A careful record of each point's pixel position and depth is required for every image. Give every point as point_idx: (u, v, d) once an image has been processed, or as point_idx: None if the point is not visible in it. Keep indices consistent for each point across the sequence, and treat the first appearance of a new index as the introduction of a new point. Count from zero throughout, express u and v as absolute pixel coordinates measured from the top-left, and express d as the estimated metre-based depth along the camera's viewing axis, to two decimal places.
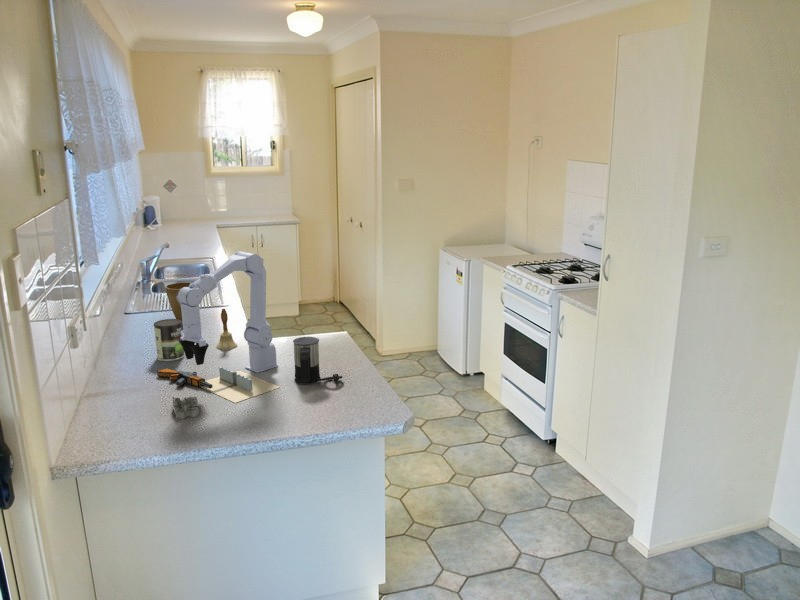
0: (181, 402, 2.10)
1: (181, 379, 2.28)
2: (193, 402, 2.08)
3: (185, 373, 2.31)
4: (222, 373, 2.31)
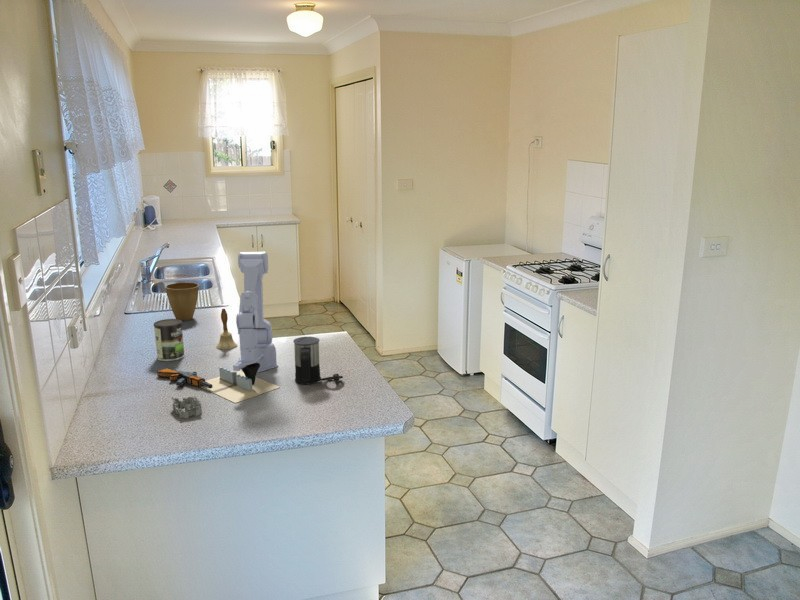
0: (180, 402, 2.09)
1: (181, 379, 2.28)
2: (194, 401, 2.08)
3: (185, 373, 2.31)
4: (222, 373, 2.31)
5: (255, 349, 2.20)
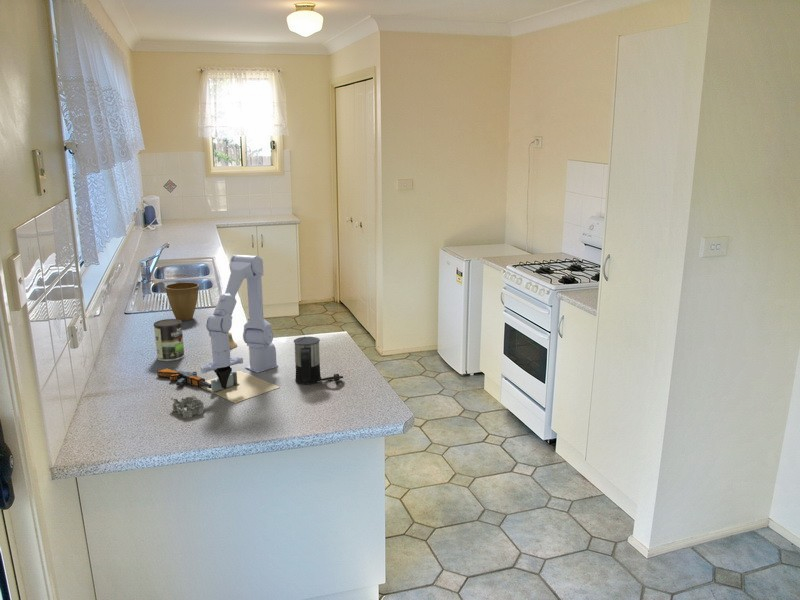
0: (180, 403, 2.09)
1: (181, 379, 2.28)
2: (194, 401, 2.09)
3: (185, 373, 2.31)
4: None
5: (225, 353, 2.16)
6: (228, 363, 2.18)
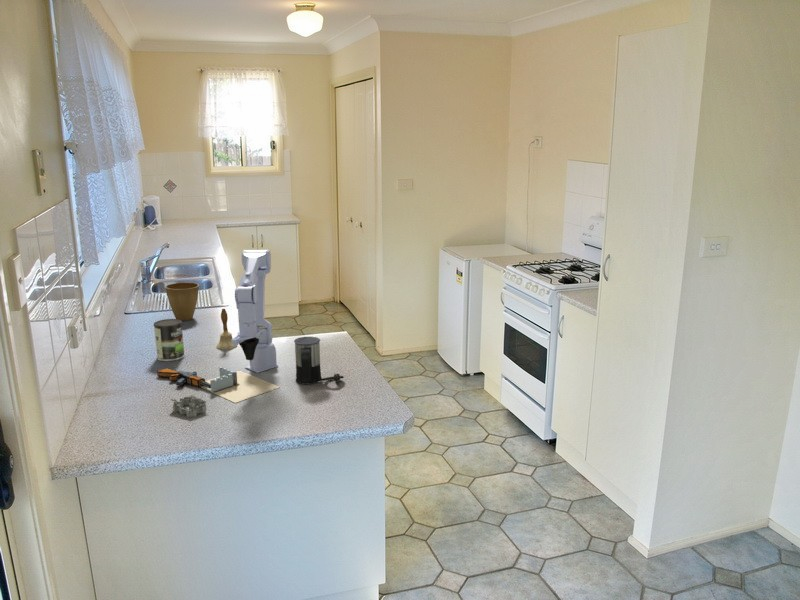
0: (179, 403, 2.09)
1: (181, 379, 2.28)
2: (194, 400, 2.10)
3: (185, 373, 2.31)
4: (222, 373, 2.31)
5: (254, 324, 2.19)
6: (256, 334, 2.21)
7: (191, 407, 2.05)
